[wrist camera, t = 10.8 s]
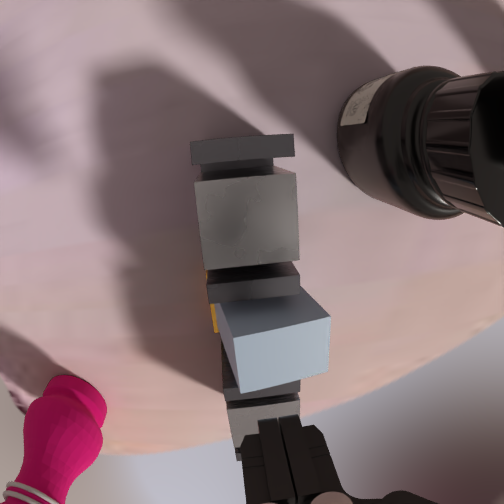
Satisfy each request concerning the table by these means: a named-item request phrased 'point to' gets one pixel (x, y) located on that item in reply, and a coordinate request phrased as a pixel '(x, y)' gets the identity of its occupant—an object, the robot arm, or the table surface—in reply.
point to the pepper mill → (58, 441)
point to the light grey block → (274, 339)
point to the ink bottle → (428, 142)
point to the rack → (248, 250)
